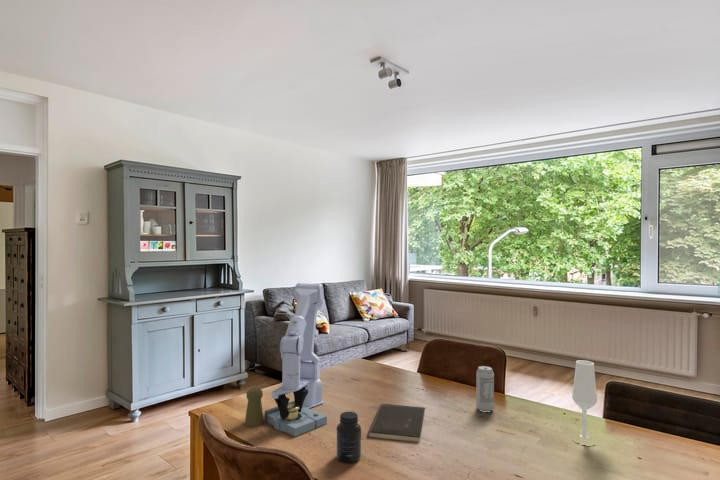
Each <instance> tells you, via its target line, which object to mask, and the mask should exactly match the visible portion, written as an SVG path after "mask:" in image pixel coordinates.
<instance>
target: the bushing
mask: <svg viewBox="0 0 720 480" xmlns="http://www.w3.org/2000/svg"><path fill="white" fill-rule="evenodd" d="M298 410H299V405H297V404H288V407H287V417H286V418H285V421H296V420H298Z"/></svg>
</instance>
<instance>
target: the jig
mask: <svg viewBox="0 0 720 480" xmlns="http://www.w3.org/2000/svg"><path fill="white" fill-rule="evenodd" d="M288 404H295V400H292V401H289V402H288ZM264 421H265V422H266V423H268V424H270V425H271V426H273V429H275V430H277V431H278V432H284V433H286V434H290V435H291V436H293V437H299V436H300V435H303V434H305V433H309V431H313V430H315V429H318V428H320V427H322V426H325V425H327V423H328V422H327V421H328V416H327V415H325V414H322V413H321V412H319V411H315V410H313V409H311V408H307V407H304V406H302V409H301V412H300V413H299V412H298V420H296V421H285V419H284V418H282V417H281V416H280V412H279V408H278V406H275V407H272V408H268V409H266V410H265V411H264Z"/></svg>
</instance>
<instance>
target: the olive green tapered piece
mask: <svg viewBox="0 0 720 480" xmlns="http://www.w3.org/2000/svg"><path fill="white" fill-rule="evenodd" d="M263 395H264V393H263V390H262V389H261V388H260V387H253V388H250V389H248V390H247V391H246V399H247V405H246V413H245V421H244V425H245V426H247V427H250V428H251V427H253V428H254V427H259V426H261V425H263V424H264V423H265V422H264V421H265V420H264V413H263V406H262V404H263V403H262V398H263V397H264V396H263Z"/></svg>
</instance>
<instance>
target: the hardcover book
mask: <svg viewBox="0 0 720 480" xmlns="http://www.w3.org/2000/svg"><path fill="white" fill-rule="evenodd" d="M425 411H426V407H423V406H414V405H413V406H411V405H402V404H401V405H400V404H392V403H380V405H379V407H378V409H377V411H376V413H375V415H374V418H373V420H372V423H371V425H370V427H369V429H368V431H367V438H369V437H370V438H377V439H388V440H398V441H405V442H414V443H419V442H420V438H421V436H422V429H423V423H424V419H425V418H424V417H425Z"/></svg>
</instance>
